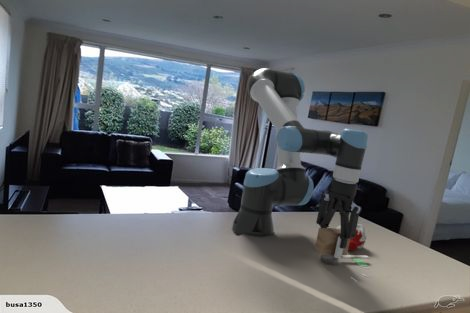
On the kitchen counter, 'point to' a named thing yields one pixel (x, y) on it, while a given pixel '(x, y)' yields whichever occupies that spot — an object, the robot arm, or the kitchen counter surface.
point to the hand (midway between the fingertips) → (329, 252)
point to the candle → (357, 238)
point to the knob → (332, 246)
